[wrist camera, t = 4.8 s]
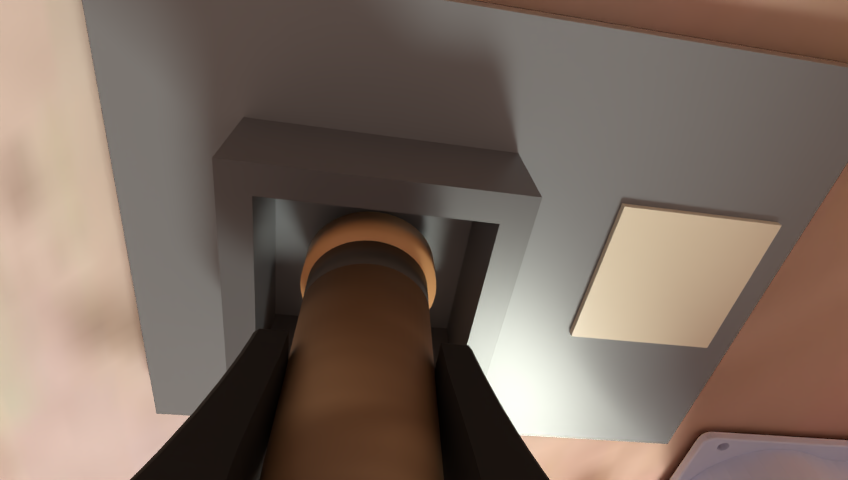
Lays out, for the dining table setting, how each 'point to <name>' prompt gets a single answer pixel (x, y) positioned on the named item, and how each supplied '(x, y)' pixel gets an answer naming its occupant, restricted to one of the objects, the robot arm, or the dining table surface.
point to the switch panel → (465, 186)
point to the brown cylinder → (359, 374)
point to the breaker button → (373, 229)
